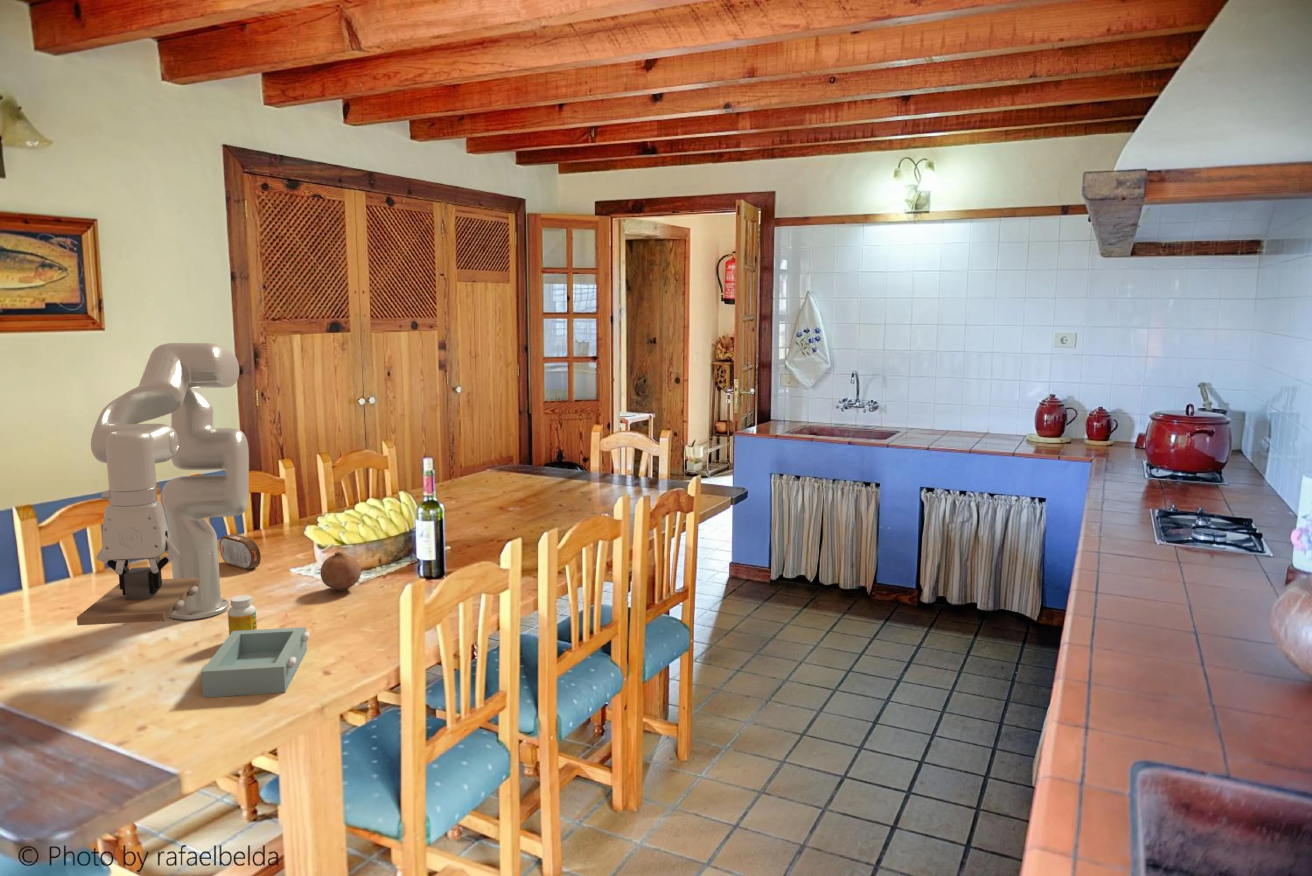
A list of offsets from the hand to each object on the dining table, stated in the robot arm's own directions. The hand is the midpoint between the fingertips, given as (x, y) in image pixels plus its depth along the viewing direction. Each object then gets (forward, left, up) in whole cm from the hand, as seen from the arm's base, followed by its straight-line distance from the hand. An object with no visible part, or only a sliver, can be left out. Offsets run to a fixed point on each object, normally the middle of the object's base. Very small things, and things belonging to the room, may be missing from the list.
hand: (141, 591), depth 164 cm
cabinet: (+1, +20, -17) cm, 26 cm away
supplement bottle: (-16, +13, -17) cm, 27 cm away
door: (0, 0, -2) cm, 2 cm away
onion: (-47, +28, -17) cm, 57 cm away
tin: (-72, -2, -17) cm, 74 cm away
